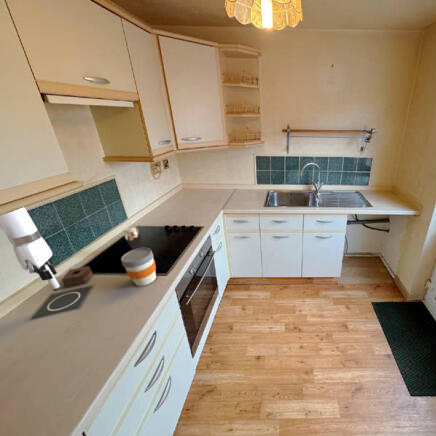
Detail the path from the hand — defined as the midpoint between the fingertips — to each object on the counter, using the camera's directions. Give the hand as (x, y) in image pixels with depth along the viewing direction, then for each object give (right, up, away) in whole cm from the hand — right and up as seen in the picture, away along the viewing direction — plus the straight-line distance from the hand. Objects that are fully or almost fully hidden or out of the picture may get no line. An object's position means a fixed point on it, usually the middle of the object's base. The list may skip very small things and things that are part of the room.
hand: (49, 276), depth 92 cm
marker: (0, -6, +3) cm, 7 cm away
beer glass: (+8, +3, +42) cm, 43 cm away
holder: (-7, -7, +20) cm, 23 cm away
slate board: (-1, -13, +8) cm, 15 cm away
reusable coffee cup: (+27, -7, +20) cm, 34 cm away
